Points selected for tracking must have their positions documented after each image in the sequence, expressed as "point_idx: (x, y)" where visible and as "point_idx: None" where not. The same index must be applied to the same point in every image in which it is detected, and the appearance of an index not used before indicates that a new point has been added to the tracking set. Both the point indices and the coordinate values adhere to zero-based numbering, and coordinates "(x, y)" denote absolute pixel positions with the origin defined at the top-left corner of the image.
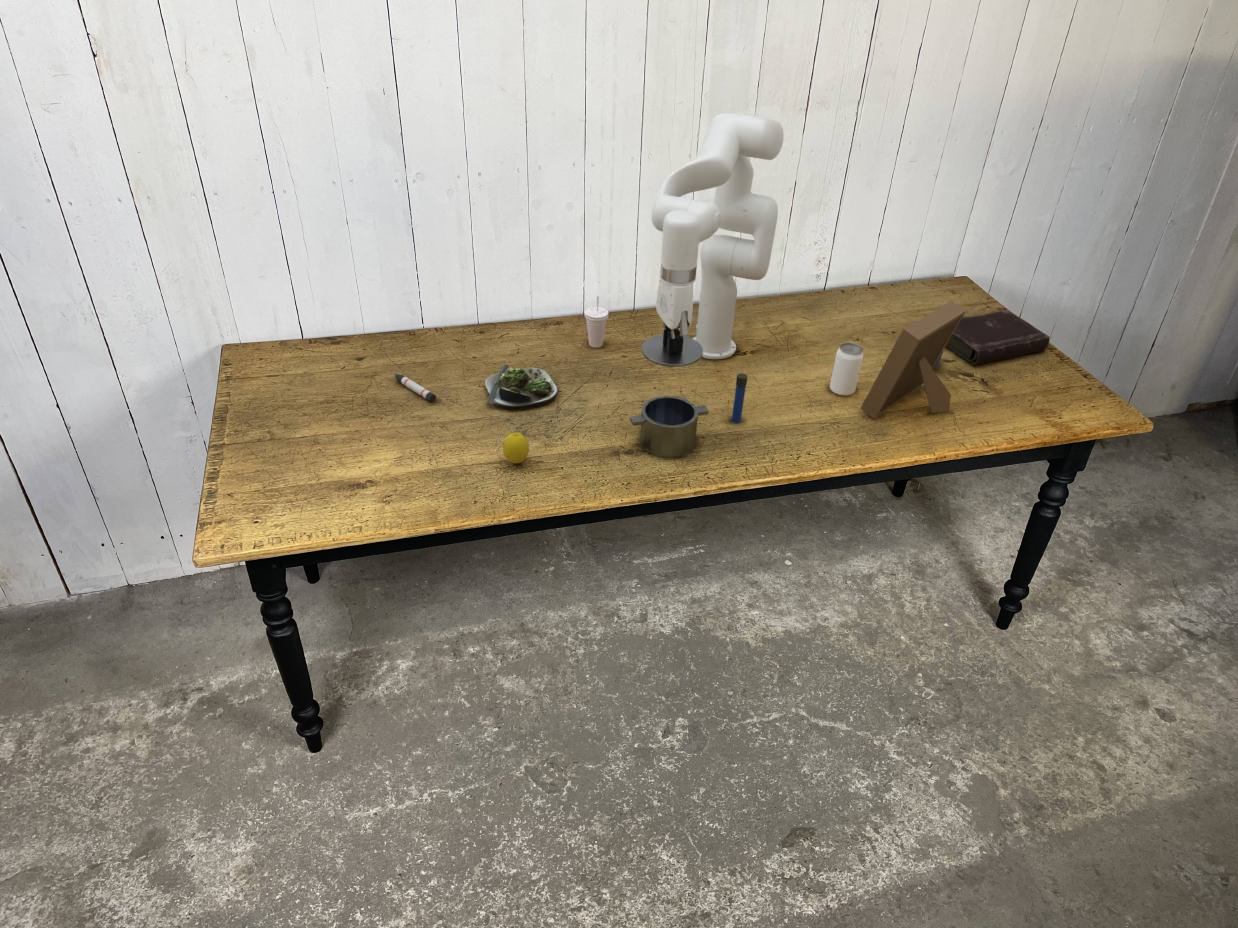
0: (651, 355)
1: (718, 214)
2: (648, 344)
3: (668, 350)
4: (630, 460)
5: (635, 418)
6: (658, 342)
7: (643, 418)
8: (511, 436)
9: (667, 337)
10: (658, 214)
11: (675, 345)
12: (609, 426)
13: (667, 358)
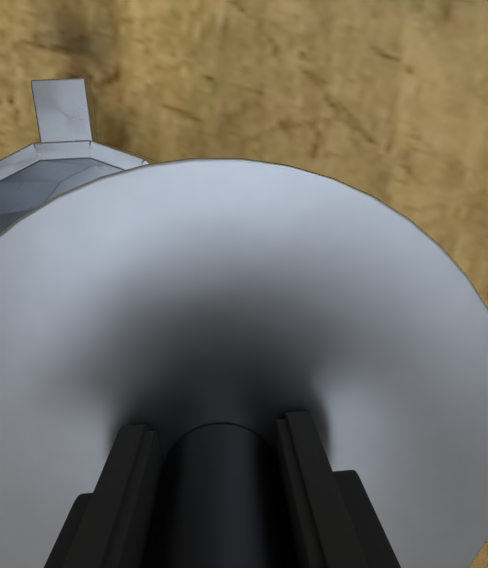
0: (120, 235)
1: None
2: (364, 268)
3: (132, 438)
4: (25, 86)
5: (61, 100)
6: (374, 380)
7: (57, 141)
8: None
9: (228, 534)
10: None
11: (56, 564)
12: (252, 65)
13: (36, 385)
